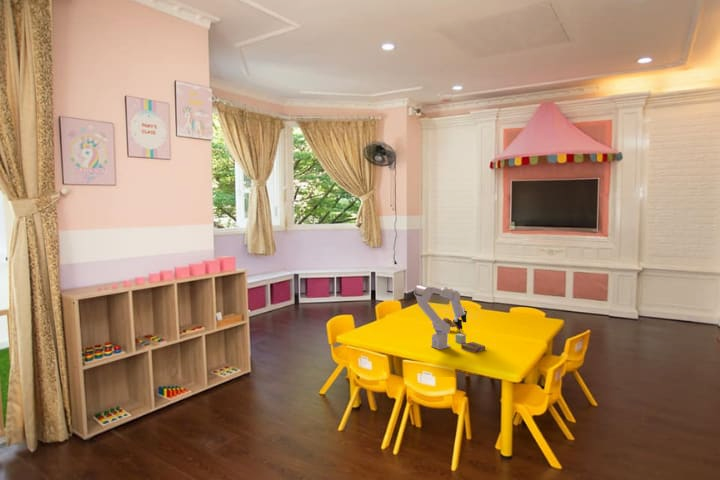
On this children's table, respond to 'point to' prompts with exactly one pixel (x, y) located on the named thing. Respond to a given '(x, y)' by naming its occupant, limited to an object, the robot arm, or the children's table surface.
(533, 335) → the children's table surface
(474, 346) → the walnut plinth
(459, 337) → the sage block
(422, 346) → the children's table surface
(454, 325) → the lion figurine
